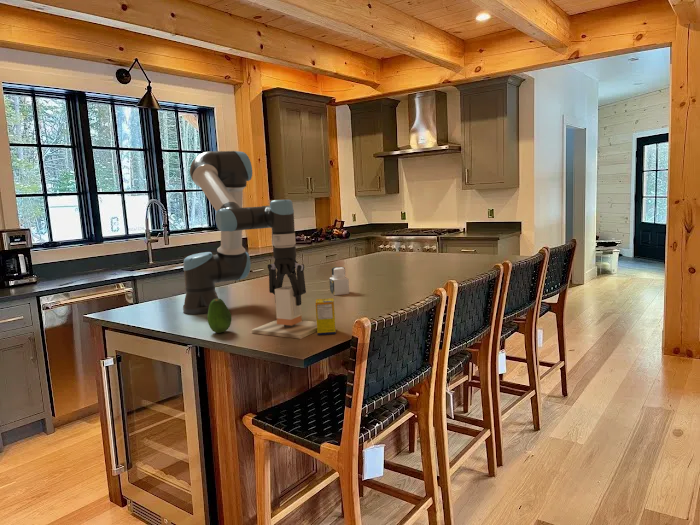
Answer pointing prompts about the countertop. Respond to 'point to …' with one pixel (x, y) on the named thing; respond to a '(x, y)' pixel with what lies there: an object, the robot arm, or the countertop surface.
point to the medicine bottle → (339, 281)
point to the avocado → (218, 316)
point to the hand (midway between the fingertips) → (288, 314)
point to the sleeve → (285, 303)
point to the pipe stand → (287, 329)
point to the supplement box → (325, 316)
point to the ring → (289, 321)
